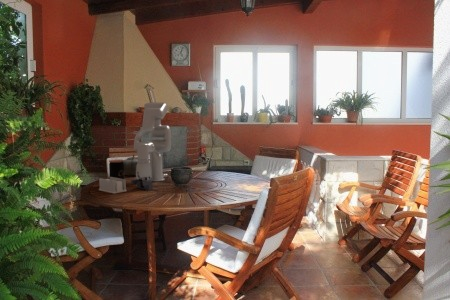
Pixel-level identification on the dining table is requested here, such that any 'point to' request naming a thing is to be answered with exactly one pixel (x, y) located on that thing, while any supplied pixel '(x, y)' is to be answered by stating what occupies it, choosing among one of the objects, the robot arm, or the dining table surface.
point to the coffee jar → (116, 168)
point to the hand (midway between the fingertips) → (144, 187)
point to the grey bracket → (146, 184)
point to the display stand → (112, 185)
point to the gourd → (130, 166)
